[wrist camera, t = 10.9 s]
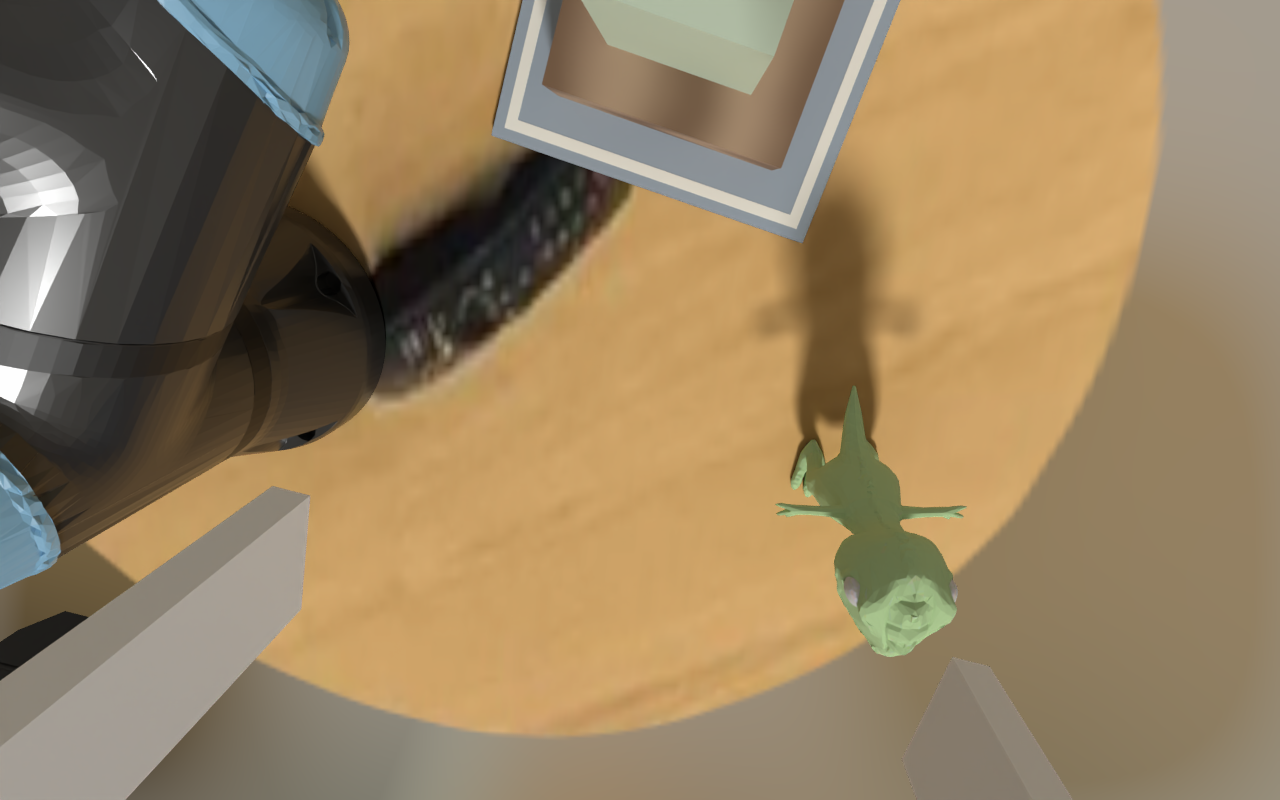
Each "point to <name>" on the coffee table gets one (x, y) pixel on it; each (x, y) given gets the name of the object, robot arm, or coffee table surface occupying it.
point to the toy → (877, 542)
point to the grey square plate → (681, 165)
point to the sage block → (697, 34)
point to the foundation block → (695, 85)
